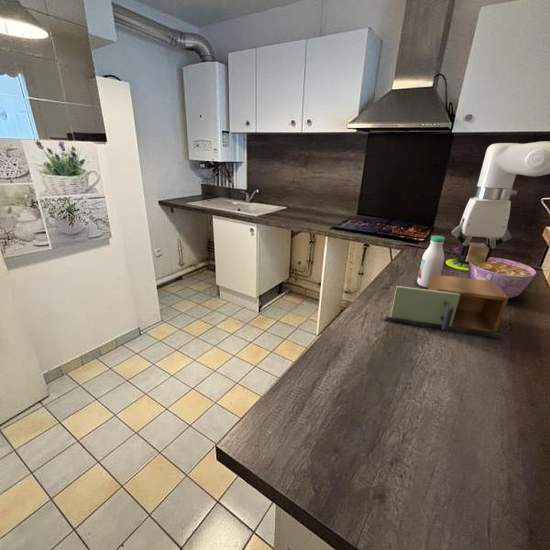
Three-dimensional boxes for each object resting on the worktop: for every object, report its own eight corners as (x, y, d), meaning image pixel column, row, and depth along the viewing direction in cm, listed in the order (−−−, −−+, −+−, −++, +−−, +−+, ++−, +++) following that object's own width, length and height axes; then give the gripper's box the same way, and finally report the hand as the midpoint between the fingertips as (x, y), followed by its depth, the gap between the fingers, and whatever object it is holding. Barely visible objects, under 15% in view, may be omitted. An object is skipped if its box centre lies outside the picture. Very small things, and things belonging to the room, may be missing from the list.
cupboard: (482, 314, 96) (493, 281, 92) (498, 338, 84) (512, 301, 79) (384, 300, 105) (389, 269, 100) (385, 320, 93) (391, 286, 88)
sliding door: (450, 326, 89) (459, 293, 85) (455, 338, 83) (465, 304, 79) (390, 317, 94) (396, 285, 89) (391, 328, 88) (398, 295, 83)
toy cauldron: (489, 267, 136) (496, 245, 131) (468, 273, 129) (475, 249, 125) (458, 257, 148) (463, 236, 144) (438, 262, 142) (443, 240, 138)
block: (479, 258, 85) (483, 243, 83) (484, 263, 81) (489, 248, 79) (462, 256, 86) (466, 242, 85) (466, 261, 82) (470, 246, 81)
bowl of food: (466, 301, 105) (475, 271, 100) (457, 280, 122) (464, 254, 118) (534, 311, 98) (547, 280, 94) (514, 288, 115) (524, 260, 111)
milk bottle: (441, 285, 117) (453, 237, 109) (431, 290, 113) (443, 240, 105) (423, 279, 123) (433, 233, 115) (412, 283, 119) (422, 235, 111)
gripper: (523, 194, 78) (502, 258, 85) (452, 191, 82) (438, 252, 89) (537, 197, 71) (513, 267, 78) (459, 194, 76) (443, 260, 83)
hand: (473, 258), depth 84 cm, fingers closed on block, 4 cm apart
